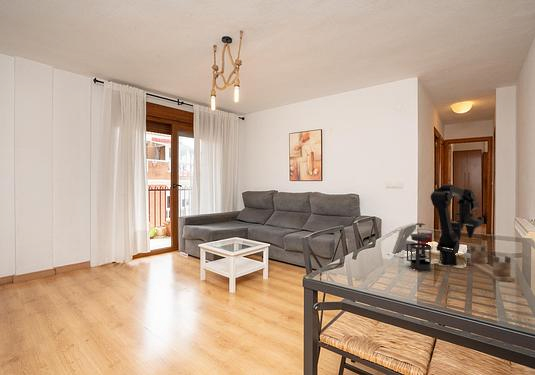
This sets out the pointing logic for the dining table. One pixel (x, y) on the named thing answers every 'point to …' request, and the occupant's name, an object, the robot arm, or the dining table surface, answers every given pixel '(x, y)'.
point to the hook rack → (498, 270)
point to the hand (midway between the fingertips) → (464, 238)
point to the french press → (420, 252)
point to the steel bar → (470, 256)
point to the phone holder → (404, 239)
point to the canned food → (426, 234)
